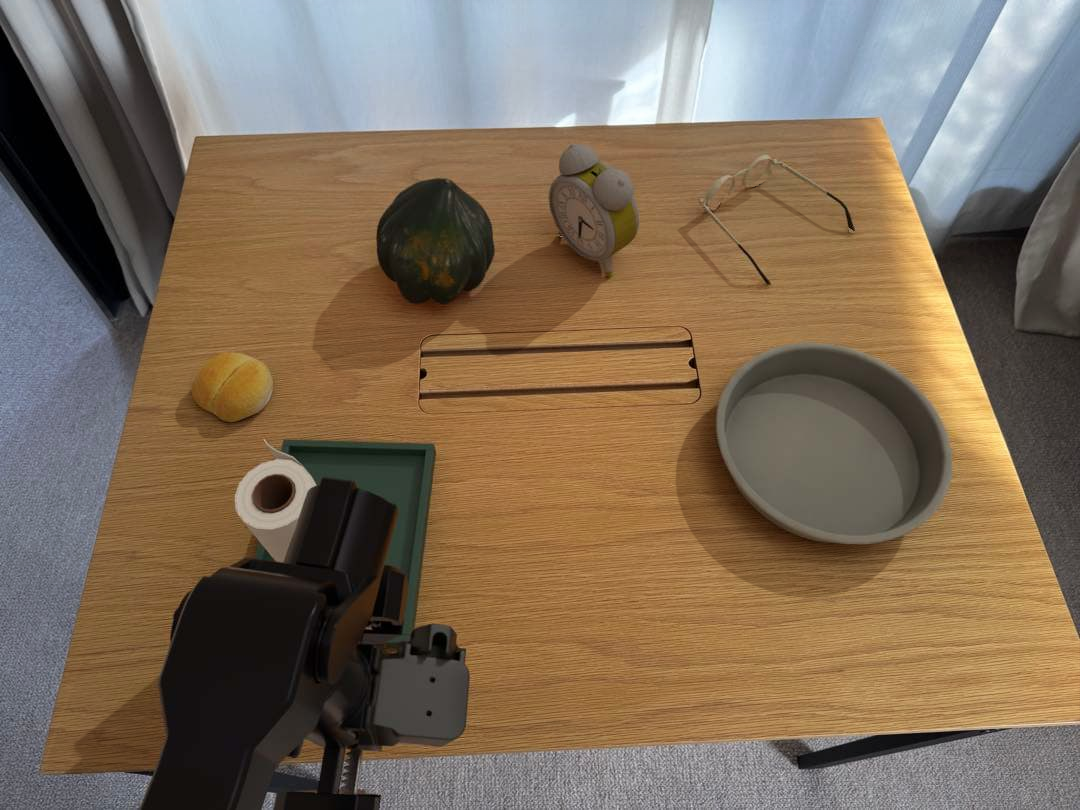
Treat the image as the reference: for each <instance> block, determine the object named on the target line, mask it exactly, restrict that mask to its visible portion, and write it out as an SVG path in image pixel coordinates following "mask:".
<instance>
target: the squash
mask: <svg viewBox="0 0 1080 810" xmlns="http://www.w3.org/2000/svg"><path fill="white" fill-rule="evenodd" d="M376 227H377V228H376V235H375V239H376V241H375V242H376V255H377V261H378V264H379V267H380V269H381V270H382V272H383V274H384V275H385V277H387V279H389V280H390V281H392V282H394V283H396V286H397V288H398V291H399V293H400V294H401V296H402V297H403V298H404V299H405V300H406V301H407V302H408V303H410V304H413V305H420V304H424V303H426V302H428V301H430V300H432V301H433V302H434V303H436V304H438V305H441V306H445V305H448V304H451V303H453V302H454V301H455V300H457V298H458V297H459V296H460V295H461V294H462V293H463V292H470V291H473V290H476V288H477V287H479V286H480V285H481V284H482V282H483V281H484V279H485V277H486V273H487V272H488V270H489V269H490V267H491V264H492V262H493V260H494V257H495V251H496V250H495V242H494V232H493V231H494V230H493V224H492V221H491V219H490V217H489V215H488V214H487V212H486V210H485V209H484V207H483V205H482V204H481V203H480V202H479V201H478V200H477V199H475V198H474V197H473V196H471V194H469V193H467V192H466V191H465V190H464V189H462V188H461V187H460V186H459V185H458V184H457V183H456V182H455V181H453V180H451V179H449V178H441V177H438V178H436V177H435V178H430V179H424V180H421V181H420V180H419V181H418V182H415V183H412V184H411V185H409V186H407V187H406V188H404V189H403V190H401V192H399V193H398V194H397V195H396V197H395V198H394V200H393V201H392V203H391V204H390V205H389V206H388V207H387V208H386V209H385V210H384V212H383V213H382V215H381V217H380V218H379V221H378V224H377V226H376Z"/></svg>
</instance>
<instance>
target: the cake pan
mask: <svg viewBox="0 0 1080 810" xmlns="http://www.w3.org/2000/svg"><path fill="white" fill-rule="evenodd" d="M719 397H720V398H719V400H718V404H717V409H716V415H715V416H716V418H715V432H716V438H717V444H718V448H719V450H720V454H721V457H722V459H723V461H724V464H725V466H726V467H727V469H728V471H729V474H730V476H731V479H732V481H733V483H734V484H735V486H736V487H737V489H738V490H739V492H740V493H741V495H742V496H743V498H745V500H746V502H748V504H750V505H751V506H752V507H753V509H754V510H756V512H758V513H759V514H760V515H761V516H762V517H764V518H765V519H767V520H768V521H769V522H771V523H772V524H774V525H775V526H777V527H779V528H780V529H782V530H784V531H786V532H788V533H790V534H793V535H795V536H798V537H801V538H803V539H807V540H810V541H815V542H820V543H826V544H846V545H870V544H878V543H879V544H880V543H883V542H887V541H891V540H894V539H898V538H901V537H903V536H905V535H907V534H909V533H911V532H913V531H915V530H916V529H918V528H919V527H920V526H922V525H924V523H926V522H927V521H928V520H930V518H931V517H933V515H934V514H935V513H936V512H937V511H938V510H939V508H940V506H941V505H942V503H943V502H944V500H945V498H946V496H947V494H948V492H949V488H950V485H951V480H952V475H953V454H952V447H951V441H950V438H949V434H948V431H947V430H946V427H945V424H944V423H943V420H942V418H941V416H940V415H939V413H938V411H937V410H936V407H934V405H933V404H932V403H931V401H930V399H929V398H927V396H926V394H925V393H923V391H921V389H920V388H919V387H918V386H916V385H915V384H914V383H913V382H912V381H911V380H910V379H909V378H908V377H906V376H905V375H904V374H902V373H901V372H900V371H898V370H897V369H895V367H893V366H891V365H889V364H888V363H886V362H884V361H883V360H881V359H878V358H877V357H875V356H872V355H870V354H867V353H866V352H863V351H860V350H857V349H853V348H851V347H846V346H843V345H838V344H832V343H825V342H797V343H789V344H784V345H781V346H777V347H773V348H770V349H768V350H766V351H763V352H761V353H759V354H757V355H756V356H754V357H752V358H751V359H749V360H748V361H747V362H745V363H744V364H742V365H741V366H740V367H739V368H738V369H737V371H735V373H733V375H732V376H731V377H730V379H729V380H728V381H727V383H726V385H725V386H724V388H723V390H722V392H721V395H720V396H719Z"/></svg>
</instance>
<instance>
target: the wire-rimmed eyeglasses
mask: <svg viewBox="0 0 1080 810" xmlns="http://www.w3.org/2000/svg"><path fill="white" fill-rule="evenodd" d="M764 160H768V162H767V165H766V168H765V170H764V171H763V173H765V174H767V175H768V177H769V178H770V177H771V176H772V174H773V173H774V171H773V170H772V169H771V166H774V167H781V169H784V170H786V171H787V172H789V173H790V174H792V175H793V176H795V177H797V178H798V179H800V180H802V181H803V182H804V183H806V184H808V185H809V186H811V187H812V188H814V189H816V190H818V191H820V192H821V193H823V194H824V195H827V196H829V197H830V198H831V199H832V200H834V201H836V202H837V203H839V205H841V207H842V208H843V209H844V213H845V217H846V222H847V228H848V227H849V228H850V229H852V230H853V231H855V232H856V228H855V226H854V223H853V220H852V216H851V214H850V212H849V209H848V207H847V205H846V204H845V203H844V202H843V201H842V200H841V199H839V198H838V197H836V196H835V195H833V194H832V193H830V192H829V191H827V189H825V188H823V187H822V186H821V185H819V184H817V183H815V182H814V181H812V180H810V179H809V178H808V177H806V176H804V175H803V174H801V173H800V172H798V171H797V170H795V169H794V168H792V167H790V166H789V165H788V164H786V163H784V162H782V161H778V159H777V158H774V159H772V157H771V156H769V155H768V154H762V155H760V156H758V157H757V158H756V159H754V160H753V162H751V163H750V165H749V166H747V168H744V169H742V170H741V171H738V172H737V173H736V174H735V175H733V176H732V175H730V174H727V175H724V176H721V177H720V178H719V179H717V180H715V182H714V183H713V184H712V185H711V186H710V188H709V189H708V191H707V192H706V194H705V197H703V198H701V199H699V200H698V201H697V203H698V204H699V205H700V206H701V205H702V206H701V207H702V209H703V211H705V213H707V215H708V216H709V217H710V218H711V220H713V222H714V223H715V224H716V225H717V226H718V227H719V228H720V229H721V230H722V231H723V232H724V233H725V234H726V235H727V236H728V237H729V238H730V239H731V241H733V243H734V244H735V245H736V246H737V247H738V248H739V249H740V250H741V251H742V252H743V253H744V254H745V256H746V257H747V258H748V259H749V261H750V262H751V263H752V265H753V266H754V268H755V270H756V271H757V272H758V274H759V276H760V277H761V279H762V280H763V281H764V283H765V284H767V285H768V286H772V283H771V281H770V280H769V279H768V277H766V275H765V274H764V272H763V271H762V270H761V269H760V267H759V265H758V263H756V261H755V259H754V258H753V257H752V256H751V254H750V253H749V252H748V251H747V250H746V249H745V248H744V247H743V246H742V245H741V244H740V242H739V241H738V240H737V239H736V238H735V236H734V235H733V234H732V233H731V232H730V231H729V230H728V229H727V228H726V227H725V226H724V224H723V223H722V222H721V221H720V220H719V219H718V218H717V217H716V215H715V214H714V213H713V211H711V207H710V206H711V205H710V204H709V203H708V201H709V200H710V201H713V200H714V197H715V196H716V194H717V193H718V191H719V189H720V188H721V187H722V185H723V184H724V183H725V182H726V181H727V180H728V179H731V184H730V187H729V189H728V190H727V192H726V194H727V195H728V196H729V197H730V196H731V194H732V193H734V192H735V191H734V188H735V184H736V177H738V176H739V175H741V174H742V173H743V175H742V178H741V184H742V186H743V185H744V186H748V182H747V181H746V180H747V177H748V175H749V173H750V172H751V170H752V169H753V168H754V167H755V166H756V165H757V164H758V163H759V162H762V161H764ZM744 186H743V187H744Z"/></svg>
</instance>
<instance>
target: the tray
mask: <svg viewBox="0 0 1080 810" xmlns="http://www.w3.org/2000/svg"><path fill="white" fill-rule="evenodd" d="M280 452H282V453H285V454H288V455H290V456H293V457H294V458H295V459H296V460H297V461H298V462H299V463H300V464H301V465H302V466H303V467H304V468H305V469H306V470H307V472H308V473H309V474H310V475H311V476H312V478H313V480H314V482H315V483H316V485H320V482H321V479H322V478H323V477H330V478H338V479H345V480H353V481H355V483H356V485H357V487H358V488H359V489H363V490H365V491H368V492H371V493H374V494H376V495H378V496H380V497H382V498H383V499H385V500H387V501H388V502H390V503H393V504H395V505H396V506H397V508H398V516H397V520H396V524H395V528H394V531H393V535H392V539H391V543H390V546H389V550H388V554H387V558H386V561H385V565H390V566H393V567H396V568H399V569H400V570H401V571H402V572H403V573H404V575H405V576H406V579H407V581H408V583H409V585H408V593H407V601H406V608H405V616H404V623H403V631H402V635H401V636H398V637H396V638H394V639H392V640H389V641H387V642H386V648H385V649H397V648H398V642H400V641H410V638H411V633H412V632H413V630H414V629H416V628H415V627H416V620H417V619H416V618H417V613H418V612H417V611H418V603H419V595H420V588H421V587H420V586H421V579H422V572H423V571H422V570H423V562H424V555H425V545H426V538H427V531H428V523H429V521H428V520H429V515H430V506H431V497H432V489H433V480H434V472H435V466H436V456H437V451H436V446H435V444H434V443H425V442H423V443H419V442H391V441H390V442H388V441H385V442H384V441H383V442H382V441H358V440H357V441H355V440H353V441H352V440H351V441H350V440H320V439H319V440H317V439H283V440H282V445H281V449H280ZM254 558H256V559H263V560H270V561H275V560H274V558H273V557H272V556H271V555H270V554H269V552H268V551H267V550H266V549H265V548H264V546H263V545H262V544H261V543H260V542H259V541H258V543H257V546H256V550H255V554H254Z"/></svg>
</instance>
